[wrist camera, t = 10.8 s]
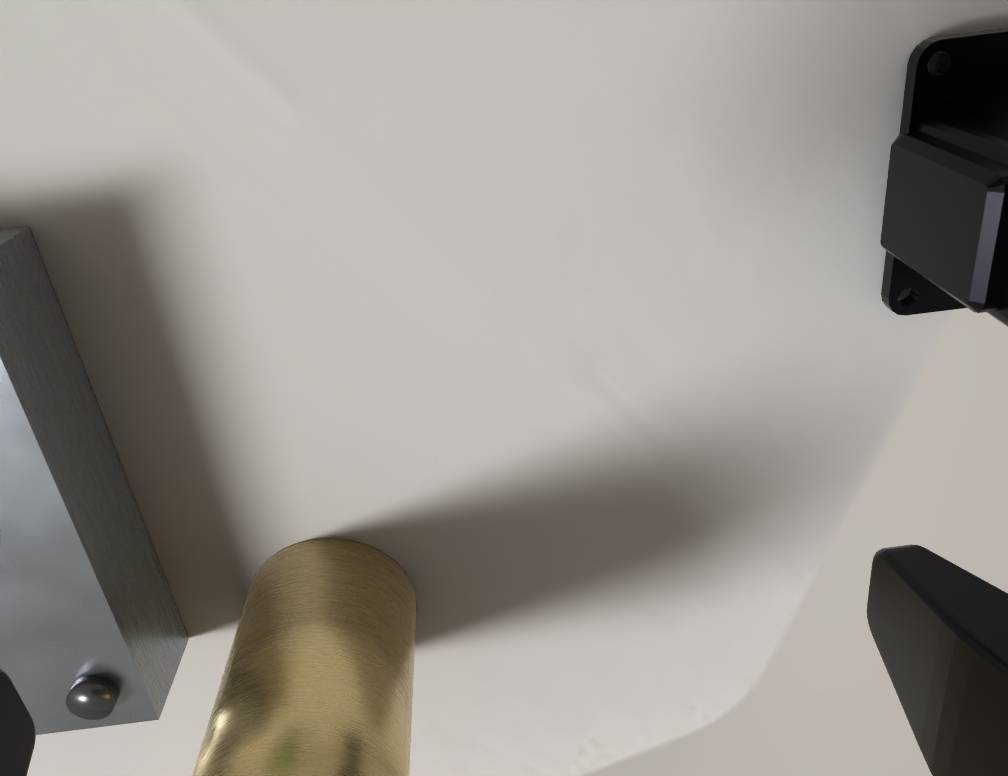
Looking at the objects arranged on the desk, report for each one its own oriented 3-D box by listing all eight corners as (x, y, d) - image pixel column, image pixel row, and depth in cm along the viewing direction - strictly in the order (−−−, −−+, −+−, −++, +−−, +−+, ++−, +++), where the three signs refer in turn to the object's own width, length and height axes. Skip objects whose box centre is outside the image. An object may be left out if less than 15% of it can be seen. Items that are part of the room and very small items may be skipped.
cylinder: (403, 526, 24) (375, 921, 14) (429, 656, 26) (420, 1067, 17) (226, 549, 24) (79, 958, 14) (269, 676, 26) (167, 1100, 17)
